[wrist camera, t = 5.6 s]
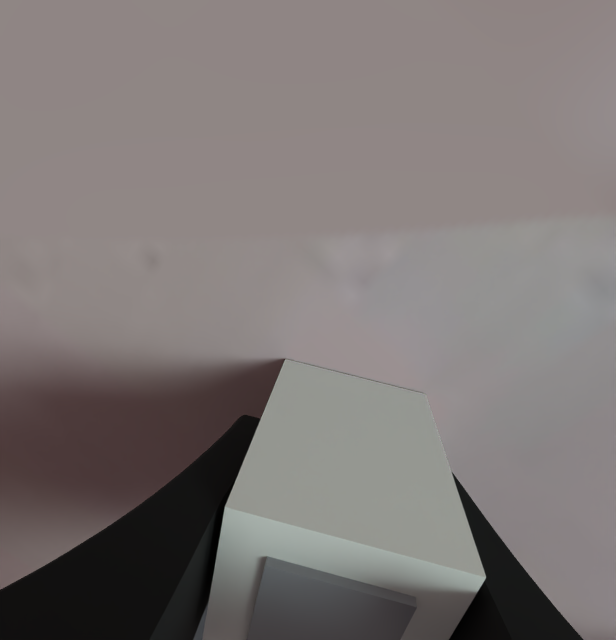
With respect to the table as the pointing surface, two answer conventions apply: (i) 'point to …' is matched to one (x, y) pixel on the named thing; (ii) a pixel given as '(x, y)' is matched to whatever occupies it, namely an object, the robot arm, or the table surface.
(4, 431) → the table surface
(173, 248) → the table surface
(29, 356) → the table surface
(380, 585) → the charger plug
